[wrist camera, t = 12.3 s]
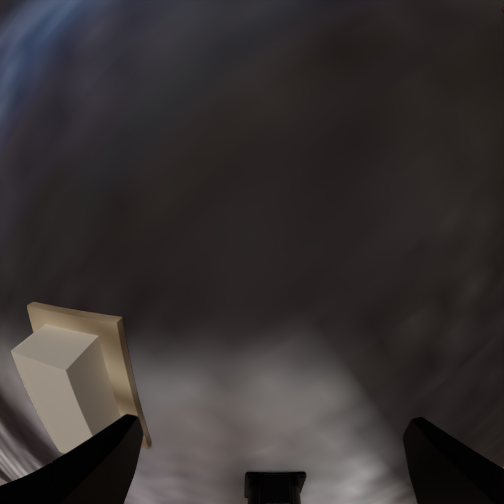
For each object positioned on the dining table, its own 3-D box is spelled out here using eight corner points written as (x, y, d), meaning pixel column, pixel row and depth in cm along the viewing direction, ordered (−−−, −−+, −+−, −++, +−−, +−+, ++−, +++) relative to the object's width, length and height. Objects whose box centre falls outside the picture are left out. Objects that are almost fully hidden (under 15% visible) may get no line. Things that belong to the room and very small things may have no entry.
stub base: (151, 442, 24) (140, 470, 20) (73, 420, 24) (58, 441, 20) (122, 317, 20) (98, 342, 16) (33, 301, 20) (6, 319, 16)
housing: (128, 435, 22) (111, 471, 17) (79, 421, 23) (59, 451, 18) (98, 335, 20) (65, 370, 15) (45, 324, 20) (10, 350, 15)
